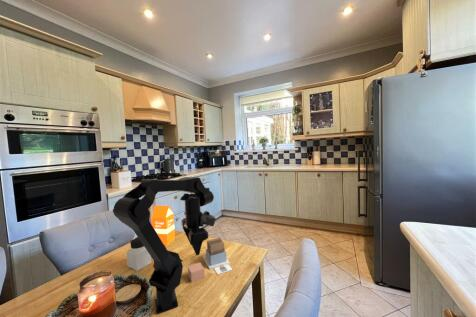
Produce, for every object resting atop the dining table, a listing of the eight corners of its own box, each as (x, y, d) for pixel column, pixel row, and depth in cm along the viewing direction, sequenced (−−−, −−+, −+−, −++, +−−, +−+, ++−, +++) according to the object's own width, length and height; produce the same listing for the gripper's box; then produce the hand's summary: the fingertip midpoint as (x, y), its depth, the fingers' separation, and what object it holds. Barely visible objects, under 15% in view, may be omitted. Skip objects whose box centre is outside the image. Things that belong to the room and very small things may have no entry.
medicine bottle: (152, 262, 90) (150, 236, 90) (137, 271, 84) (135, 243, 84) (142, 258, 94) (140, 233, 94) (127, 266, 88) (125, 239, 87)
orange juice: (167, 245, 107) (165, 207, 106) (152, 244, 109) (150, 207, 108) (175, 238, 114) (173, 203, 113) (161, 237, 116) (159, 203, 115)
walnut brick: (224, 252, 87) (224, 243, 87) (211, 255, 85) (210, 246, 85) (220, 246, 93) (219, 237, 93) (207, 249, 90) (206, 240, 90)
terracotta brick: (204, 278, 78) (204, 268, 78) (191, 283, 75) (191, 272, 75) (200, 271, 82) (200, 262, 82) (188, 276, 80) (187, 266, 80)
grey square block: (229, 263, 87) (229, 252, 87) (209, 269, 83) (209, 258, 83) (222, 254, 95) (221, 244, 95) (203, 259, 91) (203, 248, 91)
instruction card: (232, 269, 82) (232, 268, 82) (217, 274, 80) (217, 273, 80) (228, 264, 86) (228, 263, 86) (214, 268, 84) (214, 267, 84)
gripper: (221, 212, 73) (223, 255, 73) (206, 201, 89) (207, 236, 90) (190, 218, 68) (192, 263, 68) (180, 205, 85) (182, 242, 85)
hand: (194, 249), depth 78 cm, fingers open, 9 cm apart
